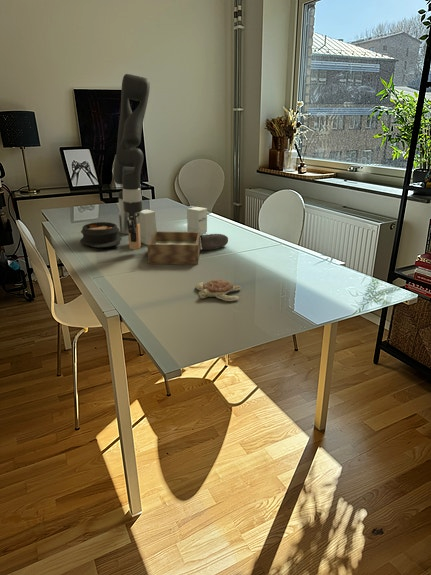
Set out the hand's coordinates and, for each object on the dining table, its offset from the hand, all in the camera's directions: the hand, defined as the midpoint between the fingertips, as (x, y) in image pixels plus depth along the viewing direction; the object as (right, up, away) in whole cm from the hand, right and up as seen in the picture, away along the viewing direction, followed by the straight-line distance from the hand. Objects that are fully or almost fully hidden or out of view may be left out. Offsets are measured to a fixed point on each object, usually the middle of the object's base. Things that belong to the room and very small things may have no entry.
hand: (134, 239), depth 178 cm
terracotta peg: (0, -3, +1) cm, 3 cm away
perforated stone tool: (+33, -3, +11) cm, 36 cm away
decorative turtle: (+35, -23, -36) cm, 55 cm away
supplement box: (+25, +7, +35) cm, 44 cm away
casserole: (-19, 0, +17) cm, 25 cm away
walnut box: (+17, -7, 0) cm, 19 cm away
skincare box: (+3, +1, +19) cm, 19 cm away
